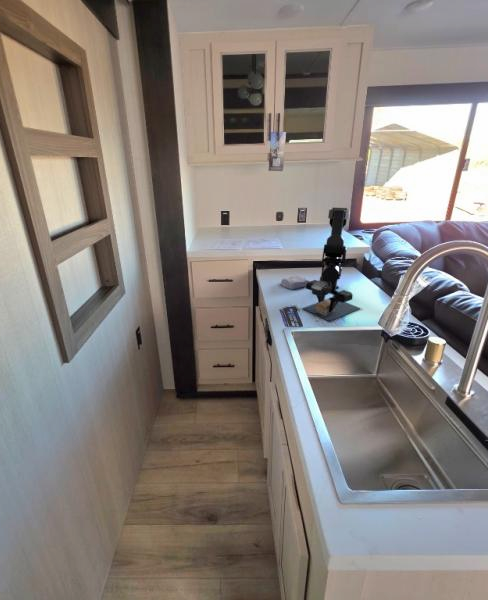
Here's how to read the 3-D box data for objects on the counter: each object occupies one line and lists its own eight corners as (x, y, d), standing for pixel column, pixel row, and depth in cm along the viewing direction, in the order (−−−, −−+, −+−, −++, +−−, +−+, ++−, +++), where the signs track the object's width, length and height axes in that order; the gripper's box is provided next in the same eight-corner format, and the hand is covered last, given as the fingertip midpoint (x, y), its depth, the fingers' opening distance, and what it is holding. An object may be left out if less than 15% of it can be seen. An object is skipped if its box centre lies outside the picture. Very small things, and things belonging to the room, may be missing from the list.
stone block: (278, 287, 161) (291, 290, 152) (278, 278, 160) (291, 280, 151) (297, 284, 166) (310, 286, 157) (297, 275, 165) (310, 277, 156)
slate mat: (332, 298, 144) (332, 297, 143) (360, 308, 133) (360, 308, 133) (302, 309, 133) (302, 308, 133) (329, 321, 123) (330, 320, 122)
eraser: (326, 307, 133) (327, 299, 131) (335, 311, 130) (336, 302, 128) (315, 311, 129) (316, 303, 128) (324, 315, 126) (325, 306, 124)
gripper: (298, 271, 126) (295, 306, 132) (337, 285, 112) (331, 323, 118) (316, 266, 132) (312, 300, 138) (356, 279, 118) (349, 316, 124)
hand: (325, 309), depth 129 cm, fingers closed on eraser, 4 cm apart
